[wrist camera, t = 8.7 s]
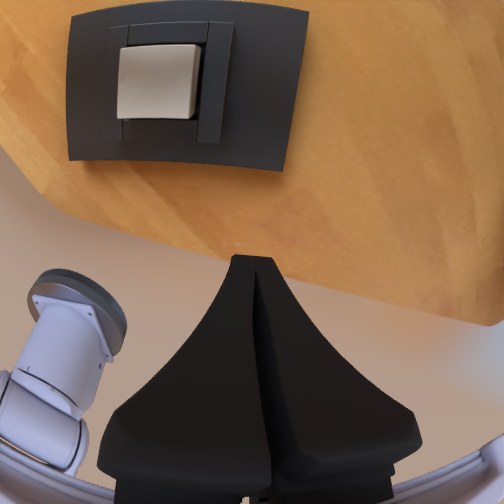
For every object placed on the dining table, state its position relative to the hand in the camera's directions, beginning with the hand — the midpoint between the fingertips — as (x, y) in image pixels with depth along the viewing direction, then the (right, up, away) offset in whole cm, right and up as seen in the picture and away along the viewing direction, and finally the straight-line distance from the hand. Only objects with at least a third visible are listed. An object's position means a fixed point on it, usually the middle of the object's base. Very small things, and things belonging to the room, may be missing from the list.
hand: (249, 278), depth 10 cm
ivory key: (-4, +10, +2) cm, 11 cm away
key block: (-4, +11, +5) cm, 13 cm away
